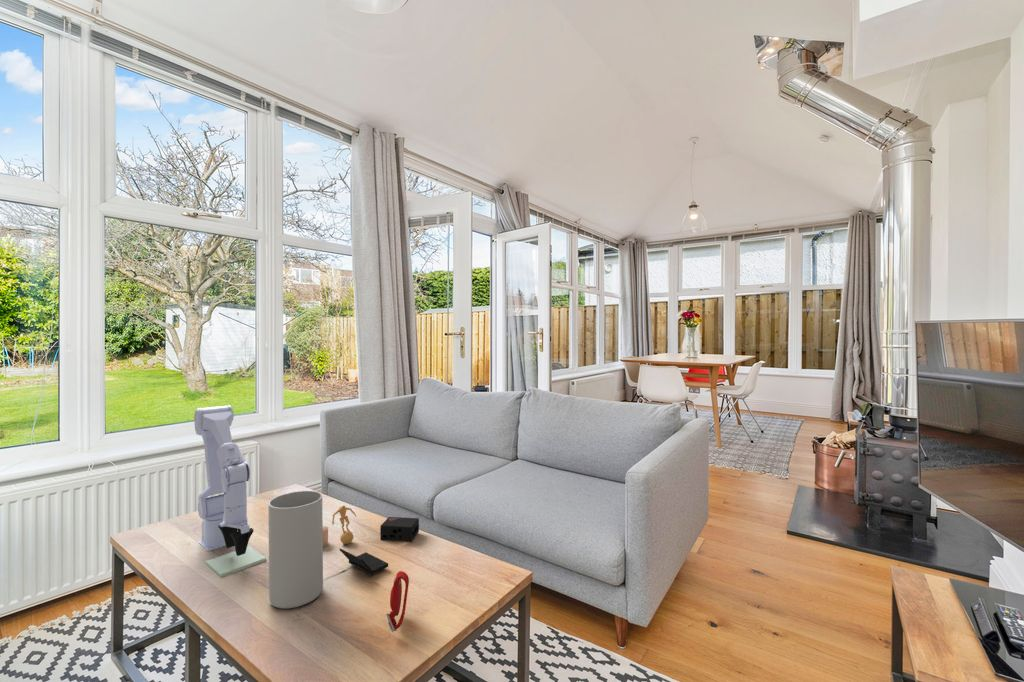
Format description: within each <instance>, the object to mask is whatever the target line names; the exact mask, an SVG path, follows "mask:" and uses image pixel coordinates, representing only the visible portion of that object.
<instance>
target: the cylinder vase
mask: <svg viewBox="0 0 1024 682" xmlns="http://www.w3.org/2000/svg"><path fill="white" fill-rule="evenodd" d="M323 520H324V519H323V493H321V492H319V491H316V490H298V491H292V492H287V493H283V494H280V495H277V496H275V497H273V498H272V499H269V501H268V600H269V603H270V604H271V606H273V607H275V608H277V609H293V608H298V607H301V606H304V605H306V604H308V603H311V602H313V601H315V599H317V598H318V597H319V595H321V593H322V591H323V589H324V566H323V565H324V559H323V558H324V557H323V556H324V555H323V552H324V547H323Z"/></svg>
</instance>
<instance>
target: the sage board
mask: <svg viewBox="0 0 1024 682" xmlns="http://www.w3.org/2000/svg"><path fill="white" fill-rule="evenodd" d="M266 561H267V556H264V555H263V554H262V553H260V552H259V551H258V550H256V549H255V548H253V547H251V546H250V545H247V549H246V553H245V554H243V555H240V556H237V554H236V551H231V552H228V553H225V554H222V555H220V556H217V557H214V558H211V559H208V560H205V561H204V562H205V564H206V565H207V566H208V567H209V568H210V569H211V570H212V571H213V572H214V573H216V575H218V576H219V578H223V577H225V576H228V575H231V574H234V573H237V572H239V571H242V570H244V569H247V568H250V567H252V566H255V565H258V564H260V563H264V562H266Z"/></svg>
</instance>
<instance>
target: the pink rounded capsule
mask: <svg viewBox="0 0 1024 682" xmlns="http://www.w3.org/2000/svg"><path fill="white" fill-rule="evenodd" d="M328 544H329V527H327V526H325V525H324V526H323V548H325V547H327V546H328Z"/></svg>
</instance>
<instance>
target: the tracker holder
mask: <svg viewBox="0 0 1024 682" xmlns="http://www.w3.org/2000/svg"><path fill="white" fill-rule="evenodd" d="M402 580H403V581H404V584H405V586H404V587H405V589H404V596H402V592H403V587H402V585H403V583H402ZM409 585H410V578H409V576H408V574H407V572H406V571H402V570H399V571H398V572H396V575H395V577H394V579H393V585H392V586H391V591H390V596H389V605H390V609H391V611H390V612H389V613H388V612H387V613H386V617H387V620H388V627H389V628H390V630H391V632H393V633H394V632H397V631H398V629H399V628H400V627H401V626H402V624H403V621H404V618H405V615H406V607H407V600H408V594H409ZM402 597H403V602H402ZM401 603H403V604H402V609H401ZM400 611H401V613H400ZM399 613H400V617H399V620H398V622H397V620H396V616H399Z"/></svg>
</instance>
